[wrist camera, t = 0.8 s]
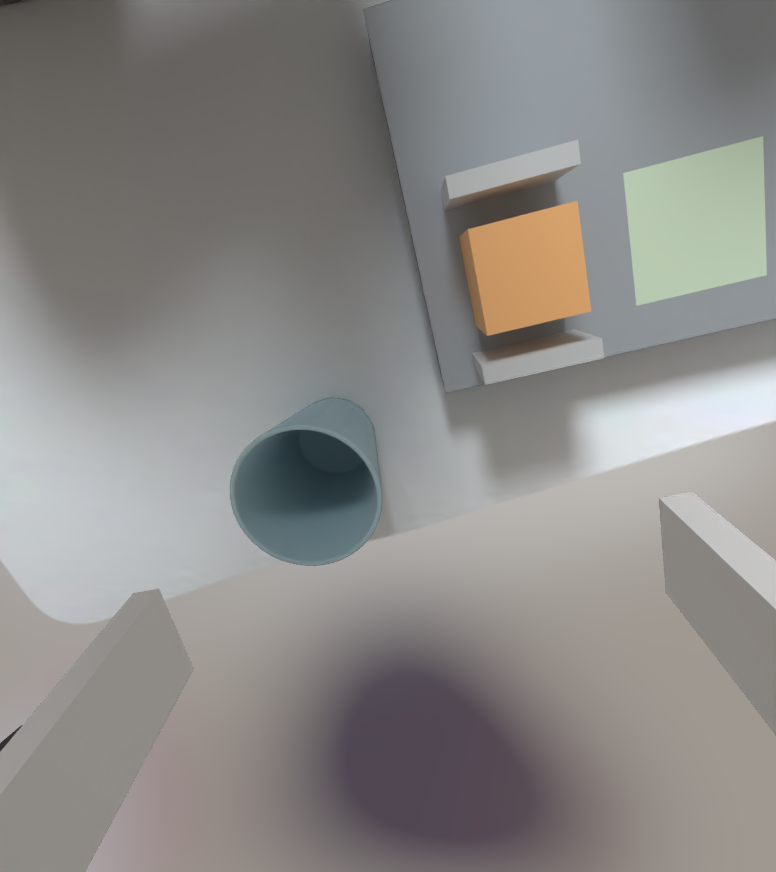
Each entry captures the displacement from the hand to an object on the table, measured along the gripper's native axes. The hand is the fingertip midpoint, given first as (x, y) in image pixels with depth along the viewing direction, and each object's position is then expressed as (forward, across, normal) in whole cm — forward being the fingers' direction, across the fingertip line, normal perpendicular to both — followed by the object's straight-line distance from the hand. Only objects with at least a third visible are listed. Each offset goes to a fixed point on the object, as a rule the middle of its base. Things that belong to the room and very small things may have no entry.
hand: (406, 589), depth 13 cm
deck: (+22, +16, +10) cm, 29 cm away
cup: (+22, -6, -2) cm, 23 cm away
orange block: (+19, +7, +6) cm, 21 cm away
